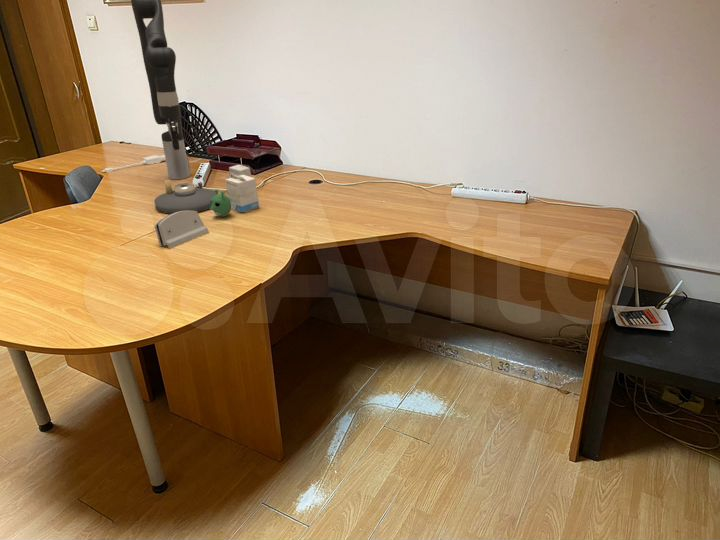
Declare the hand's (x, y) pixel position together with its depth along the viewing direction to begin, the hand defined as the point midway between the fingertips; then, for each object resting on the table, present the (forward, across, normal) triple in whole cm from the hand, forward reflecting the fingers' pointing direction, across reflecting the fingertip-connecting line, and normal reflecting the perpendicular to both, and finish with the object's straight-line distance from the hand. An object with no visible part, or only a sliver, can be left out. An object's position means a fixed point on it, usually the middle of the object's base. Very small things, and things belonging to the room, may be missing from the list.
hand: (176, 148), depth 202 cm
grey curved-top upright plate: (+20, +50, -6) cm, 54 cm away
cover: (+16, +9, 0) cm, 18 cm away
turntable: (+19, +14, 0) cm, 24 cm away
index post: (+19, +2, +7) cm, 20 cm away
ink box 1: (+19, +12, +22) cm, 32 cm away
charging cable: (+20, -59, -17) cm, 64 cm away
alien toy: (+19, +34, +10) cm, 40 cm away
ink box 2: (+19, +28, +19) cm, 39 cm away
